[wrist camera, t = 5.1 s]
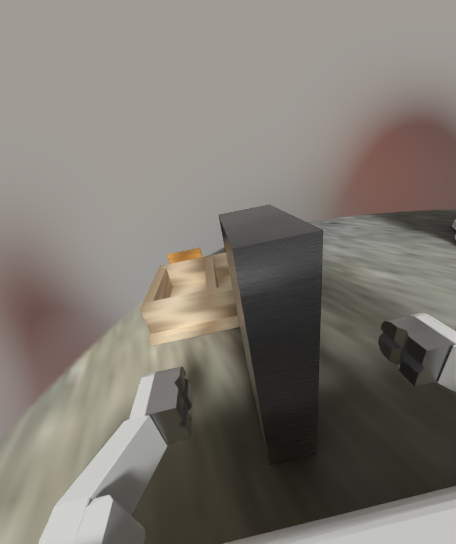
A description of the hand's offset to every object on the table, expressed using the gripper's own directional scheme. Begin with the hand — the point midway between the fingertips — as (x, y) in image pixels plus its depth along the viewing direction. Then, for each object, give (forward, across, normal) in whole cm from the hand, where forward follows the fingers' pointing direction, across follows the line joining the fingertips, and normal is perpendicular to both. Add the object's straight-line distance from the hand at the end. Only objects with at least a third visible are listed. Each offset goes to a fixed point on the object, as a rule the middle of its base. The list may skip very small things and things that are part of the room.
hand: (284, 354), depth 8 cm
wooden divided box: (+16, +3, +7) cm, 18 cm away
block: (+2, 0, +7) cm, 7 cm away
